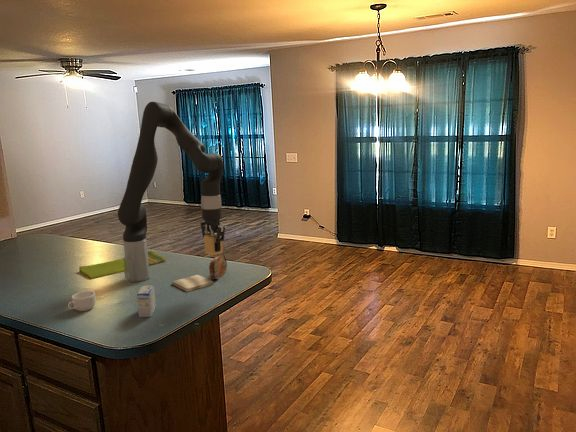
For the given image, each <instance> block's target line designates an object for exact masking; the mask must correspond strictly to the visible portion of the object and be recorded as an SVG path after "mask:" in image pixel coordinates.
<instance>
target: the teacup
mask: <svg viewBox="0 0 576 432" xmlns="http://www.w3.org/2000/svg"><path fill="white" fill-rule="evenodd" d="M70 304H72V305H73V306H72V307H71V305H70ZM95 304H96V292H95V291H93V290H83V291H80V292H77V293H73V294H72V295H71V301H69V302H68V304H67V307H68V308H69V309H70V310H76V311H78V312H86V311H87V312H88V311H89V310H92V309H93V307H94V306H95Z"/></svg>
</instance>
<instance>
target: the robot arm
mask: <svg viewBox="0 0 576 432" xmlns="http://www.w3.org/2000/svg"><path fill="white" fill-rule="evenodd" d="M158 128H164V129H166V130H167V131H169V132H171V133H172V134H173V136H175V140H176V143H177V144H178V146H179V148H181V150H182V151H183V152H184V153H185V154H186V155H187V156H188V157H189V159H190V160H191V163H192V165H193V166H194V168H195V169H196V170H197V171H198V172H199V173H202V174H208V175H207V177H206V178H204V179H203V180H201V182H200V192H201V193H200V194H201V198H200V205H201V220H203V221H200V228H201V233H202V237H203V238H204V235H209V234H211V235H212V237H214V246H215V252H219V251H220V250H221V247H220V242H221V241H222V242H224V240H225V234H226V233H225V231H226V226H224V225H221V222H220V220H221V219H222V218H223V209H222V197H221V180H222V175H223V171H224V160H223V158H222V156H221V154H219V153H215V152H211V153H206V147H205V145H204V144H203V143H202V141H201V140H199V139H198V138H197V136H196V135H194V133H192V132H191V130H190V129H188V127H187V126H186V125H185V124H184V122H183V121H182V119H181V118H180V117H179V115H178V114H177V112H176V111H175V110H174V109H173V107H171V106H170V105H168V104H166V103H161V102H157V101H150V102H148V103H147V104H146V105H145V108H144V110H143V113H142V119H141V123H140V132H139V137H138V140H137V141H138V142H137V146H136V150H135V153H134V156H133V160H132V163H131V168H130V172H129V175H128V180H127V182H126V183H127V184H126V188H125V191H124V194H123V197H122V200H121V202H120V205H119V207H118V211H117V219H118V220H119V222H120V224H121V225H123V226H125V229H124V232H123V234H122V239H123V240H122V242H123V251H124V253H123V254H124V257H123V261H124V278H125V279H124V280H127V281H128V282H130V283H134V282H142V281H146V280H148V279H150V267H149V266H150V265H149V264H148V253H147V252H148V245H147V243H148V242H147V232H148V219H147V218H148V216H147V211H146V207H145V205H144V203H142V202H143V197H144V195H145V194H146V191H147V189H148V187H149V186H150V184H151V182H152V180H153V178H154V176H155V172H156V169H157V165H158V158H159V157H158V154H157V148H156V144H155V136H156V132H157V129H158ZM214 233H216V234H214ZM216 236H217V239H216ZM220 236H221V237H220Z"/></svg>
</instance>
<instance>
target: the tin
mask: <svg viewBox="0 0 576 432" xmlns="http://www.w3.org/2000/svg"><path fill="white" fill-rule="evenodd" d="M208 269H209V275H210V278H211V280H219V278H220V277H221V278H222V277H223V276H224V275H225V274H226V273H227V272H226V271H227V257H226V256H225V254H221V255H220V254H217V255H215V257H213V259H211V261H210V262H209V266H208ZM221 278H220V279H221Z"/></svg>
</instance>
